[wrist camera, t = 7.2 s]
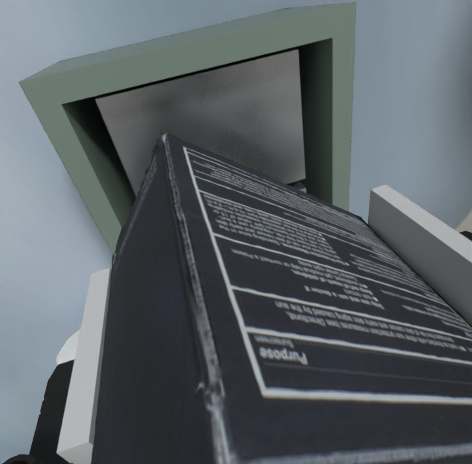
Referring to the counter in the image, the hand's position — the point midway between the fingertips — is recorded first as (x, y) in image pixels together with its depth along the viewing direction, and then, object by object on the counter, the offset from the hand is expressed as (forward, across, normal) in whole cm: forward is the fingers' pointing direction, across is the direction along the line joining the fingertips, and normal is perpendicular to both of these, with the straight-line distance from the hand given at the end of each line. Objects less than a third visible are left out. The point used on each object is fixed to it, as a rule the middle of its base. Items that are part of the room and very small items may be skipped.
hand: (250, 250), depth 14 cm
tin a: (+9, 0, +4) cm, 10 cm away
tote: (+10, 0, 0) cm, 10 cm away
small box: (+1, 0, 0) cm, 1 cm away
